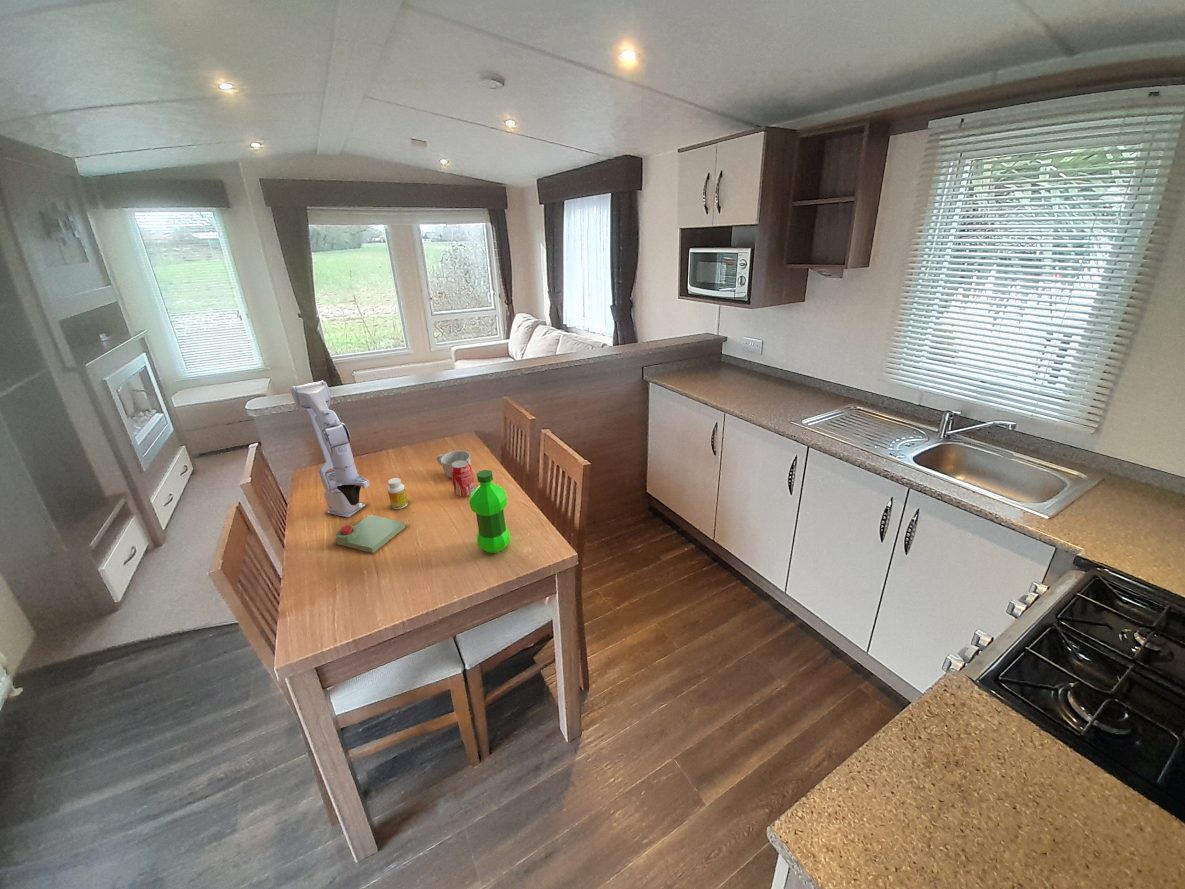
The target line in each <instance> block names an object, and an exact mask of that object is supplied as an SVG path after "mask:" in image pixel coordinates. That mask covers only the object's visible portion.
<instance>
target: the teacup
mask: <svg viewBox="0 0 1185 889" xmlns="http://www.w3.org/2000/svg"><path fill="white" fill-rule="evenodd" d="M457 460H467V461H468V462H469V464H470V465H471V466H472V459H471V454H470V452H468V451H467V450H452V451H450V452H447V453H445V454H442V453H441V454H440V453H439V454H438V455H437V456H436V461H437V462H438V464H439V465H440V466H441V467H442V470H443V473H444V474H445V476H446V477H447V478H451V479H452V475H451V467H452V463H453V462H455V461H457Z"/></svg>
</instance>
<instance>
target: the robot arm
mask: <svg viewBox="0 0 1185 889" xmlns="http://www.w3.org/2000/svg"><path fill="white" fill-rule="evenodd" d="M290 392H291V395H292V398H293V402H294V403H295V406H296V409H297V411H298V412H299V413H300V414H305V415H306V416H307V417H308V419H309V420H310V423H311V425H312V429H313V431H314V434H315V436H316V439H317V442H318V445H319V447H320V450H321V453H322V455H323V458H324V462H323V463H322V465H321V466H320V467H319V470H318V472H319V476H320V480H321V483H322V485H323V488H324V490H325V491H324V498H325V501H326V505H327V508H328V510H327V511H326V512H327V514H331V515H334V516H339V517H343V518H350V517H351V516H353V515H354V514H356V513H357V512H359V511H360V510H362V509H363V508H365V507H366V506H367V505H366V504H365V503H361V502H360V494H361V493H360V492H361V488H362V489H367V488H368V487H369V486H371V484H370V480H369V479H368V478H367V479H366V478H365V477H363V476H362V475H361V474H359V473H358V470H357V467H356V463H355V459H354V456H353V452H352V447H351V444H350V443H351V442H352V440H351V435H350V431H349V429H348V427H347V426H346V423H344V422H342V421H341V420H340V419H339V417H338V415H337V413H336V412H335V411H334V410H332V409H330V408H329V407H331V392H330V389H329V385H328V384H327V382H326V381H324V380H320V381H316V382H311V383H306V384H302V385H297V386H293V385H292V386H291V388H290Z"/></svg>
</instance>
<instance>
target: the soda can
mask: <svg viewBox="0 0 1185 889" xmlns="http://www.w3.org/2000/svg"><path fill="white" fill-rule="evenodd" d="M451 475H452V478H451V480H452V486H453V489H454V494H455V495H456V496H457V497H461V498H466V497H470V493H471V492H472V491H473V490H474V489H475V481H474V475H473V470H472V464H471V465H470V464H469V462H468V461H467V460H457V461H455V462H453V463H452V467H451Z"/></svg>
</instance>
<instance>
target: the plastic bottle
mask: <svg viewBox="0 0 1185 889" xmlns="http://www.w3.org/2000/svg"><path fill="white" fill-rule="evenodd" d="M476 479H477V483H479V485H478V486H476V487H474V490H473V491H472V492H471V493H470V495H469V496H468V497H469V498H468V499H469V508H470V510H471V512H473V513H475V515H476V520H477V522H476V523H477V529H478V530H477V533H476V543H477V546H478V547H479V548H480V549H481V550H483V551H485V552H486V553H489V554H498V553H499V552H502V551H503V550H504V549H505V548H506V547H507V546H508V545H509V543H510V541H511V535H510V534H511V533H510V529H509V527H508V526H507V525H506V520H505V519H506V518H505V512H504V509H505V508H506V507H507V504H508V501H507V493H506V490H505V489H504V488H503V487H501V485H498V484H496V483H493V482H492V481H493V480H494V476H493V471H492V470H490V469H482V470H480V471H478V472H477V473H476Z"/></svg>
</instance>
